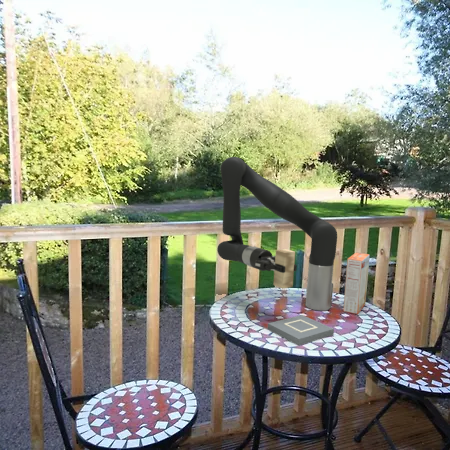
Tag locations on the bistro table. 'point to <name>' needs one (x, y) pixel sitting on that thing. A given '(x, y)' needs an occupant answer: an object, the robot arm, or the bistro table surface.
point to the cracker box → (356, 283)
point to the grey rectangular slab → (300, 329)
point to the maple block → (286, 260)
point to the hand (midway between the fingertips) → (290, 268)
